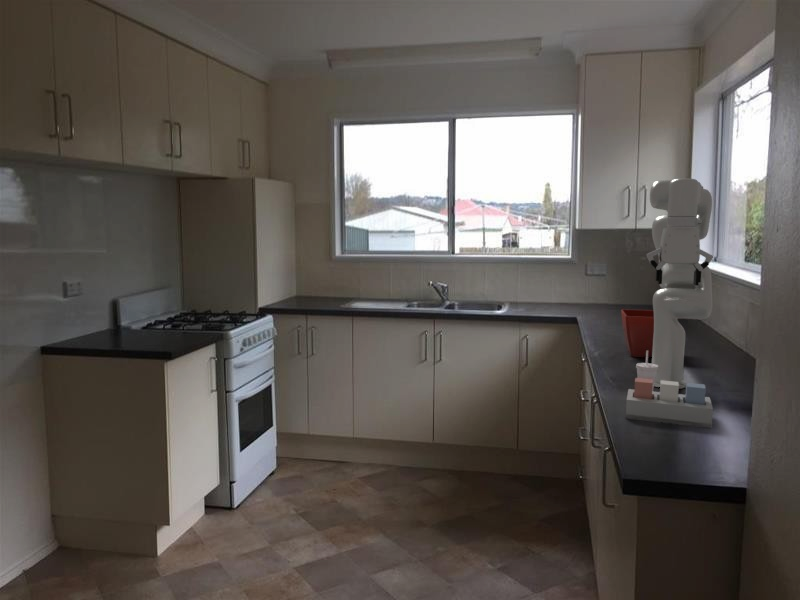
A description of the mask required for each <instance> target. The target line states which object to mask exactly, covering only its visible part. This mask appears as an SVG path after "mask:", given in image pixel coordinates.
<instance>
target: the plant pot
mask: <svg viewBox="0 0 800 600" xmlns="http://www.w3.org/2000/svg"><path fill="white" fill-rule="evenodd" d="M620 312H621V321H622V328H623V332H624V333H623V334H624V337H625V343H626V346H627V349H628V353H629V354H630V356H631V357H634V358H646V351H648V358H649V357H652V352H653V336H654V311H653V310H652V309H625V308H624V309H621V311H620ZM677 321H678V322H679V319H677Z"/></svg>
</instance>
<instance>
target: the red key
mask: <svg viewBox="0 0 800 600" xmlns="http://www.w3.org/2000/svg"><path fill="white" fill-rule="evenodd" d="M652 385H653V379H643V378H638V377H635V379H634V398H643V399H652Z"/></svg>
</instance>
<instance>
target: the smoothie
mask: <svg viewBox="0 0 800 600" xmlns="http://www.w3.org/2000/svg"><path fill="white" fill-rule="evenodd" d="M635 369H636V374H637V378H643V379H653V385H652V391H654V388H655V386H654V383H655V378H656V373H657V370H658V365H655V364H652V362H651V363H649V357H648V351H646V357H645V362H638V363H636V365H635Z"/></svg>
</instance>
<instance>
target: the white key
mask: <svg viewBox="0 0 800 600" xmlns="http://www.w3.org/2000/svg"><path fill="white" fill-rule="evenodd" d="M679 391H680V390H679V383H678V382H674V381H664V380H661V381H660V388H659V392H660V400H662V401H671V402H678V394H679Z"/></svg>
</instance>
